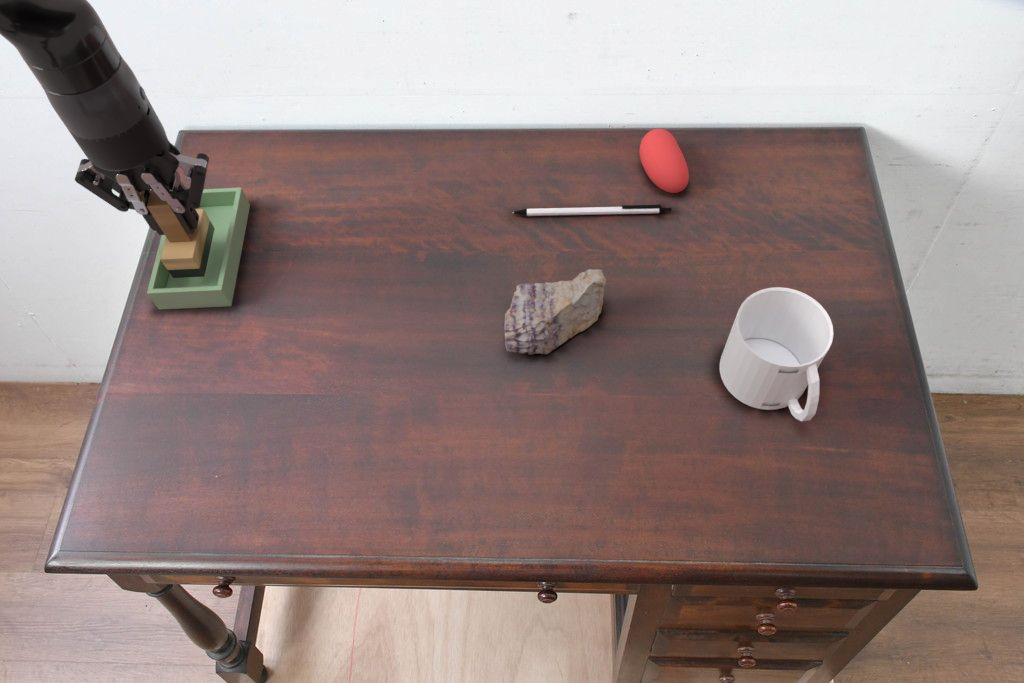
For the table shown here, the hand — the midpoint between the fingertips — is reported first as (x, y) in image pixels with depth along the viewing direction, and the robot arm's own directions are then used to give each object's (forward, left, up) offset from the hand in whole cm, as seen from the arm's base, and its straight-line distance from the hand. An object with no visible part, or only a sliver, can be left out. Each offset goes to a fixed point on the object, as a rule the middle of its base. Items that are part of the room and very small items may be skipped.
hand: (178, 227), depth 88 cm
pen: (+44, -14, -8) cm, 47 cm away
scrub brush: (0, 0, -5) cm, 5 cm away
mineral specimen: (+33, -26, -8) cm, 42 cm away
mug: (+50, -43, -8) cm, 66 cm away
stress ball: (+56, -12, -8) cm, 57 cm away
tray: (+1, +2, -8) cm, 8 cm away
